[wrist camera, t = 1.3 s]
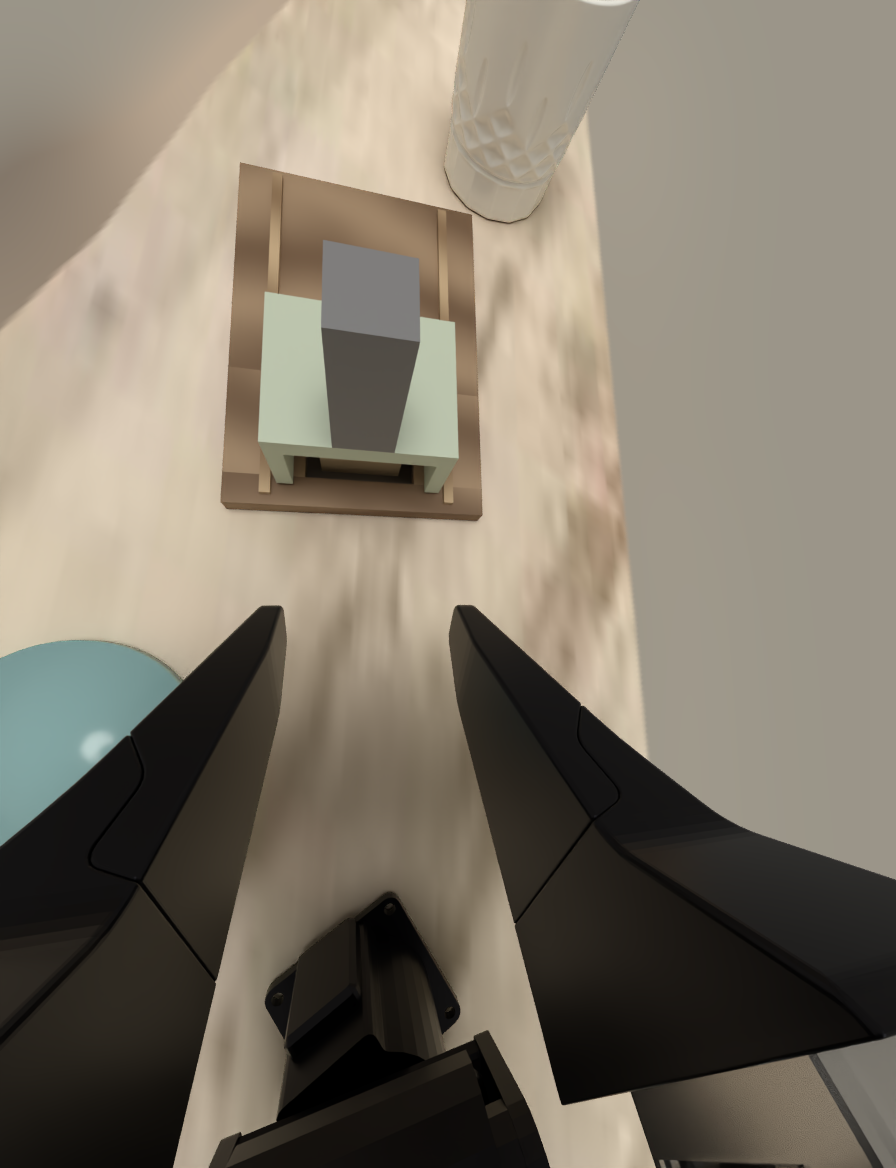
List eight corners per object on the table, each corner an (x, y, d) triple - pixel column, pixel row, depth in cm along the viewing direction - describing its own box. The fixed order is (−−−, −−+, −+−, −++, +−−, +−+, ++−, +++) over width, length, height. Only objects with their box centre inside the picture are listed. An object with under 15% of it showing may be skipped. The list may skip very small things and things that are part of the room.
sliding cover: (438, 492, 22) (517, 356, 11) (276, 482, 20) (197, 309, 10) (436, 379, 23) (507, 159, 12) (281, 360, 21) (214, 80, 11)
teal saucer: (245, 787, 19) (241, 793, 18) (1, 944, 16) (-17, 959, 15) (136, 599, 19) (128, 597, 18) (-125, 724, 16) (-148, 728, 16)
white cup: (477, 106, 28) (544, -179, 18) (567, 186, 29) (678, -47, 19) (411, 171, 26) (447, -111, 16) (510, 254, 27) (601, 34, 17)
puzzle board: (476, 520, 23) (484, 513, 22) (226, 508, 20) (218, 499, 19) (467, 230, 26) (473, 209, 25) (244, 182, 23) (238, 156, 22)
